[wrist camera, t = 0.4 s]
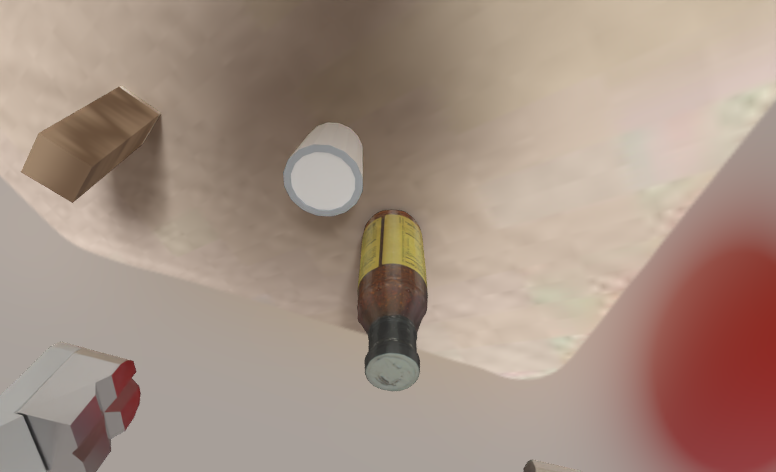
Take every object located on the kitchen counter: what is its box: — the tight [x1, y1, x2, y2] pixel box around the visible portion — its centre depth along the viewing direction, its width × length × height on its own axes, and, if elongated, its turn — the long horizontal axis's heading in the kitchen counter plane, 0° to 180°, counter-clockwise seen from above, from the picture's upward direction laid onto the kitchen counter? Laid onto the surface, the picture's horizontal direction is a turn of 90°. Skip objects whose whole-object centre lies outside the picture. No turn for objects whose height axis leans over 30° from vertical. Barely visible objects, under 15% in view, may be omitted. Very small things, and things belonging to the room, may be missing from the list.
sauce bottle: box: [357, 210, 428, 391], centre depth 45 cm, size 6×6×20 cm
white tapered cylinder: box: [283, 122, 363, 216], centre depth 45 cm, size 7×7×7 cm
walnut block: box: [21, 86, 161, 203], centre depth 42 cm, size 4×4×12 cm
